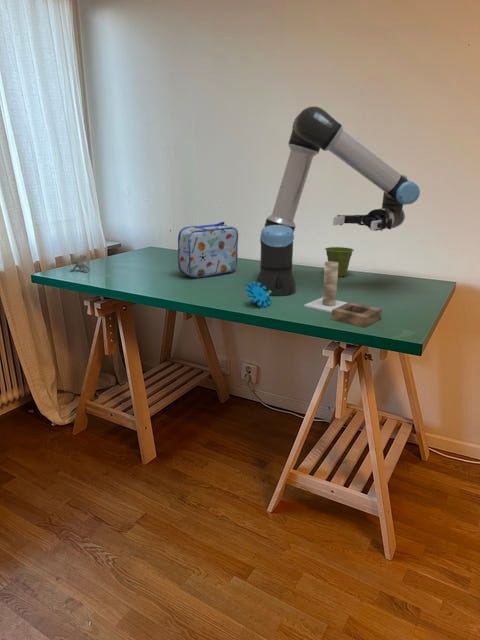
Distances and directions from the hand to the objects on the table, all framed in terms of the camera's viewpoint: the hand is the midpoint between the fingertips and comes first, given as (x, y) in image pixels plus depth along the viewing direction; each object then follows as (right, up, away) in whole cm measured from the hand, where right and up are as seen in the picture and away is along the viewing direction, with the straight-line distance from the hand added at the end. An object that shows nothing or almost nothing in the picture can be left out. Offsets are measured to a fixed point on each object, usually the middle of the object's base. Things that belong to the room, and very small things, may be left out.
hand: (352, 223), depth 149 cm
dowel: (-7, -27, +1) cm, 28 cm away
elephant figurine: (-106, -11, +49) cm, 118 cm away
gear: (-31, -27, +3) cm, 41 cm away
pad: (-7, -27, +2) cm, 28 cm away
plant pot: (+5, -13, +44) cm, 46 cm away
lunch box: (-50, -12, +45) cm, 68 cm away
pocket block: (-1, -32, -11) cm, 33 cm away
